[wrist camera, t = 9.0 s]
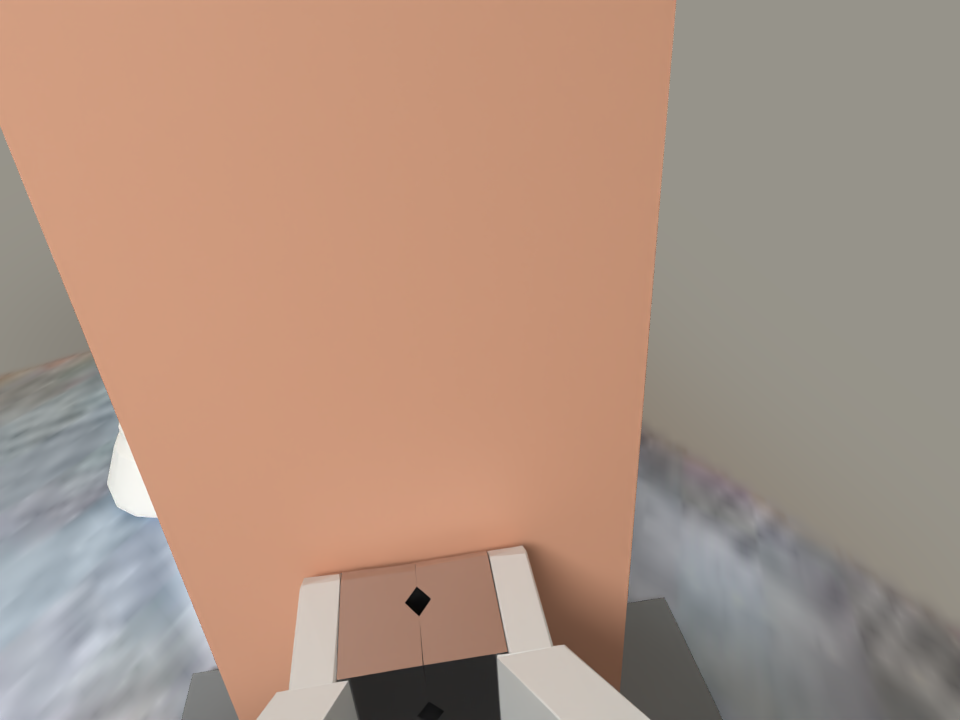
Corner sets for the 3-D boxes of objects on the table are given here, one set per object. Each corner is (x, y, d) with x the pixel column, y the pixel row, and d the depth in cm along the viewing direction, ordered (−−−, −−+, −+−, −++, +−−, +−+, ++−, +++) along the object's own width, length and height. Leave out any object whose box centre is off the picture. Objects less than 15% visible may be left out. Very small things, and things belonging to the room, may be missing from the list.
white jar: (164, 432, 26) (84, 522, 22) (141, 368, 25) (50, 452, 21) (284, 436, 26) (225, 531, 21) (268, 371, 24) (201, 458, 20)
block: (610, 808, 13) (688, -147, 6) (298, 868, 12) (-95, -107, 5) (541, 572, 18) (532, -88, 11) (318, 607, 18) (142, -66, 10)
